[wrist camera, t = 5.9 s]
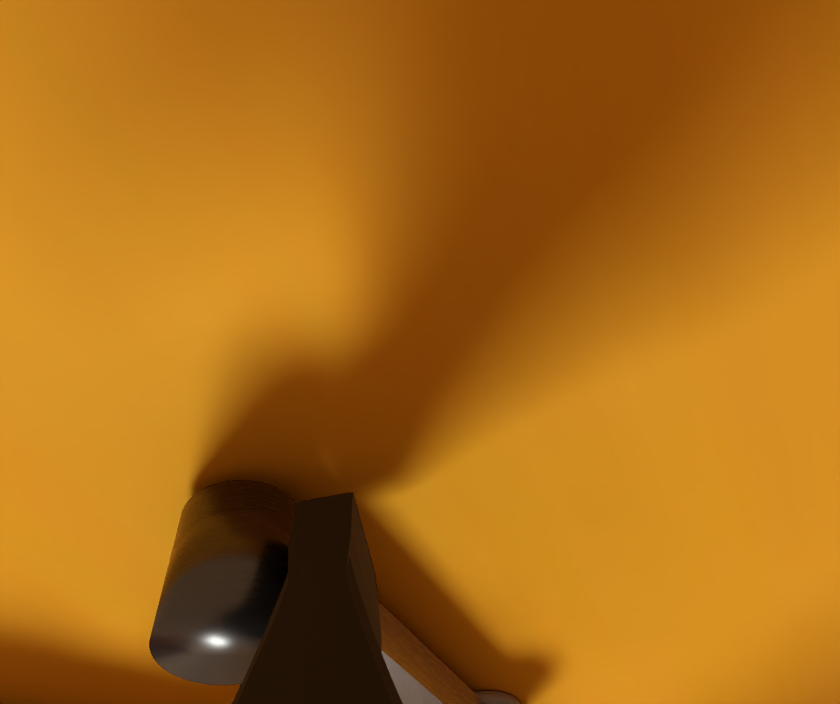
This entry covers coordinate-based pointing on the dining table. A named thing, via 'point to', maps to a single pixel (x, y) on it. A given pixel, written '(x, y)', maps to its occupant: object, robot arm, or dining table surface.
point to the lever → (258, 596)
